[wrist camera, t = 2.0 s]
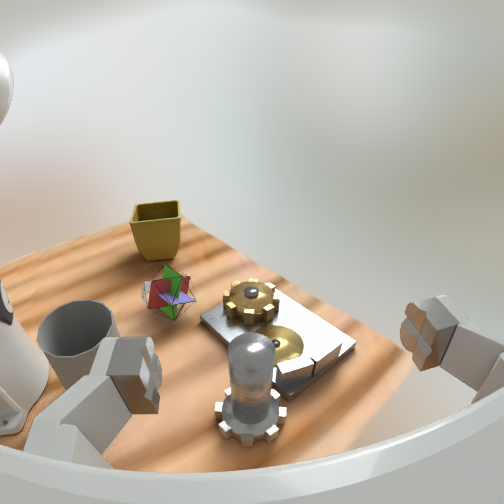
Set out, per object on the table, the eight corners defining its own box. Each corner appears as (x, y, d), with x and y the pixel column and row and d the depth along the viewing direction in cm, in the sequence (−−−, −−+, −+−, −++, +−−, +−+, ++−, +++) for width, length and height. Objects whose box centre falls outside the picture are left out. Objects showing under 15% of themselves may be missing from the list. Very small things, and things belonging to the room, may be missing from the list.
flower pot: (185, 263, 55) (180, 216, 50) (137, 268, 53) (129, 222, 48) (183, 241, 62) (179, 199, 58) (141, 245, 60) (134, 204, 56)
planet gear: (245, 459, 24) (245, 400, 19) (203, 413, 29) (189, 343, 23) (298, 421, 28) (315, 352, 23) (254, 382, 33) (256, 308, 27)
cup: (84, 428, 25) (42, 369, 20) (65, 377, 31) (33, 316, 26) (149, 399, 30) (125, 336, 25) (122, 354, 35) (101, 290, 30)
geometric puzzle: (184, 274, 48) (152, 249, 41) (214, 292, 44) (182, 267, 37) (159, 312, 46) (124, 292, 40) (187, 334, 42) (150, 315, 36)
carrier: (288, 401, 30) (292, 381, 28) (200, 321, 41) (198, 300, 40) (354, 347, 37) (361, 326, 35) (266, 289, 48) (266, 269, 46)
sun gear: (247, 340, 38) (247, 317, 36) (213, 310, 43) (211, 287, 42) (289, 315, 43) (292, 292, 41) (254, 290, 48) (254, 268, 46)
